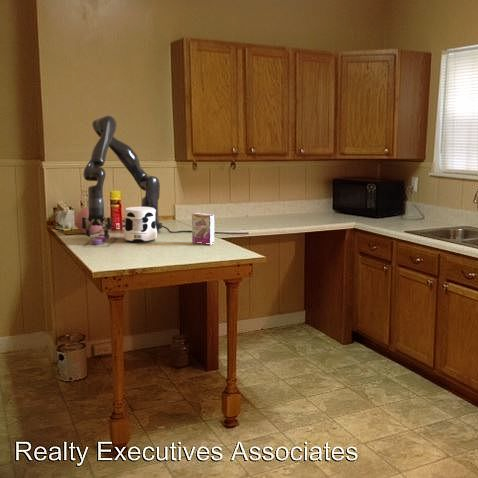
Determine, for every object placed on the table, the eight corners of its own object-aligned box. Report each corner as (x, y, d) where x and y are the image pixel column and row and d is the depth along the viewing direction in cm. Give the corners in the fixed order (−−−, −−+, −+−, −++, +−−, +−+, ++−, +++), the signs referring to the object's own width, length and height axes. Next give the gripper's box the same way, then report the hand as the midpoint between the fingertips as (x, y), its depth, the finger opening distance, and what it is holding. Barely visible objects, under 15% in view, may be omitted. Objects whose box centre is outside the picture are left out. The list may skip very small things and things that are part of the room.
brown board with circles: (117, 238, 334) (117, 237, 333) (107, 246, 312) (106, 245, 312) (95, 238, 333) (95, 237, 332) (83, 246, 311) (83, 245, 311)
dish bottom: (107, 240, 325) (107, 235, 325) (104, 242, 320) (104, 237, 319) (96, 240, 325) (96, 235, 324) (94, 242, 319) (93, 237, 319)
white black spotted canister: (147, 237, 340) (146, 205, 336) (163, 242, 328) (162, 209, 324) (118, 240, 328) (117, 207, 324) (133, 246, 316) (132, 211, 312)
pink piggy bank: (89, 239, 329) (88, 211, 326) (70, 234, 341) (69, 207, 338) (114, 235, 341) (113, 208, 338) (95, 230, 353) (94, 204, 350)
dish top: (110, 237, 332) (110, 233, 332) (108, 239, 327) (108, 234, 327) (100, 237, 332) (100, 232, 332) (97, 239, 327) (97, 234, 326)
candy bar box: (191, 243, 326) (191, 213, 323) (196, 242, 331) (196, 212, 328) (210, 245, 323) (210, 215, 320) (214, 244, 327) (214, 214, 324)
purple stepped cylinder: (103, 243, 318) (103, 238, 317) (100, 245, 312) (100, 240, 312) (92, 242, 317) (92, 238, 317) (89, 245, 312) (89, 240, 311)
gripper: (79, 206, 307) (81, 238, 310) (108, 207, 308) (109, 238, 311) (83, 204, 314) (85, 235, 317) (112, 205, 315) (113, 235, 318)
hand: (97, 236), depth 314 cm, fingers open, 8 cm apart
